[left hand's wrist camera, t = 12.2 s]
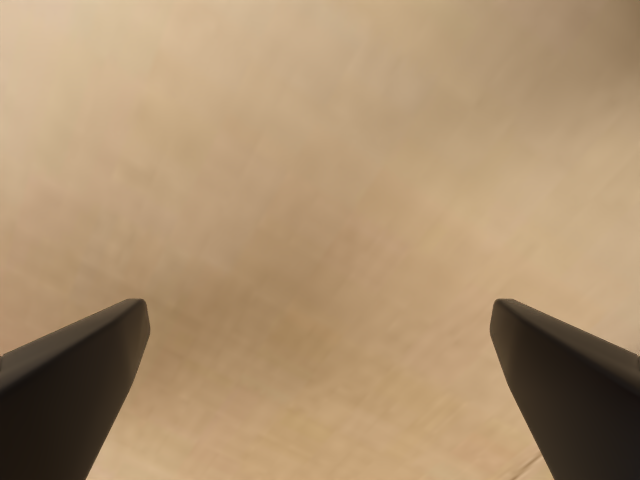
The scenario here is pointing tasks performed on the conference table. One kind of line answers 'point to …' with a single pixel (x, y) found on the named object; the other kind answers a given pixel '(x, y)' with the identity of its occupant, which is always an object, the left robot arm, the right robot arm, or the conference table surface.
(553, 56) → the conference table surface
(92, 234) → the conference table surface
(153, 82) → the conference table surface
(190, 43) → the conference table surface
